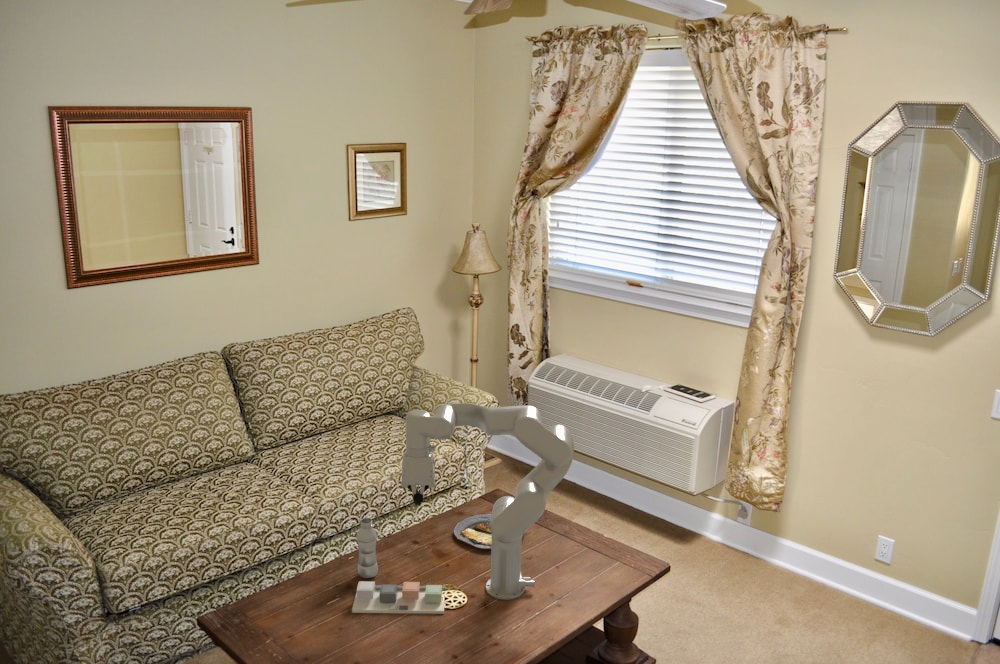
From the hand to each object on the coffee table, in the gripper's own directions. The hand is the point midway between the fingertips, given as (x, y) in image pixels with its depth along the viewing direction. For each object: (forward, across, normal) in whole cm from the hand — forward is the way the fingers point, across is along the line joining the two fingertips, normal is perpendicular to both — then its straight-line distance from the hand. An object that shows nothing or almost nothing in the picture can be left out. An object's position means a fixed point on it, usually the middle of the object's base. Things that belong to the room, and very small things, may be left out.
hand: (418, 503), depth 262 cm
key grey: (+27, +16, +9) cm, 32 cm away
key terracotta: (+27, +2, +9) cm, 28 cm away
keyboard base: (+29, +5, +9) cm, 31 cm away
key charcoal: (+28, +9, +9) cm, 30 cm away
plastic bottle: (+29, +17, -6) cm, 34 cm away
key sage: (+28, -5, +9) cm, 30 cm away
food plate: (+30, -23, -32) cm, 49 cm away
